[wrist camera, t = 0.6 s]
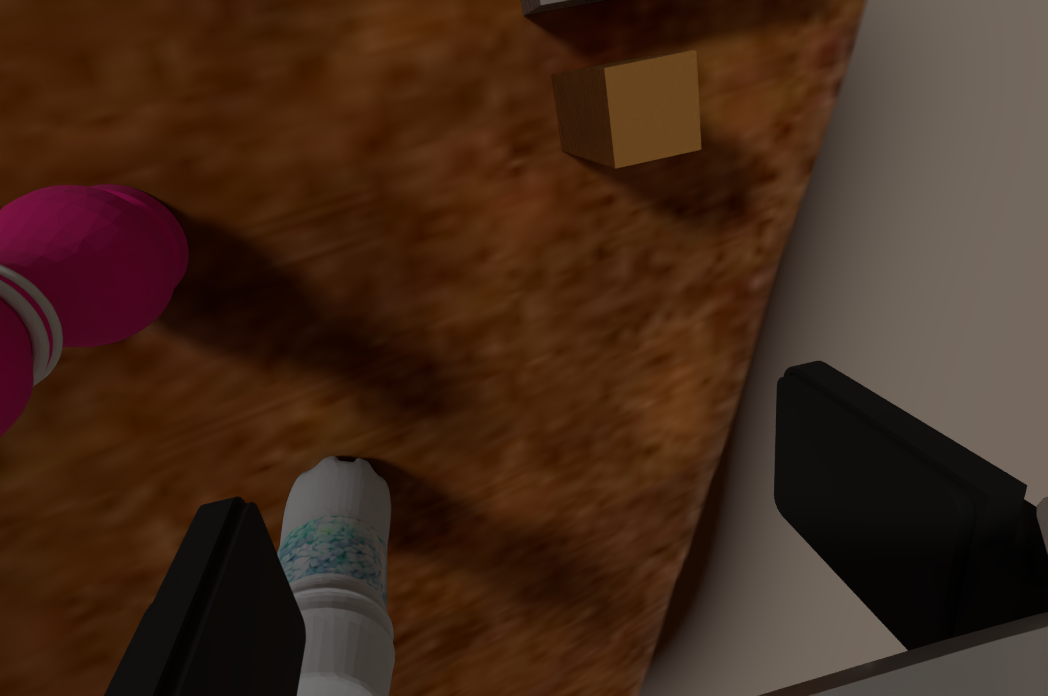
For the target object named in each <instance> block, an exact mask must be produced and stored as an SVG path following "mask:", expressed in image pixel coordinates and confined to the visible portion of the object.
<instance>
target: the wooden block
mask: <svg viewBox="0 0 1048 696" xmlns="http://www.w3.org/2000/svg"><path fill="white" fill-rule="evenodd" d="M551 78H552V85H553V92H554V99H555V106H556V112H557V119H558V126H559V133H560V140H561V147H562V151H564V152H567V153H570V154H573V155H576V156H579V157H582V158H585V159H588V160H591V161H594V162H597V163H600V164H603V165H606V166H609V167H612V168H615V169H616V168H620V167H625V166H629V165H634V164H638V163H643V162H647V161H652V160H656V159H661V158H666V157H670V156H675V155H679V154H684V153H688V152H693V151H697V150H701V132H700V112H699V93H698V73H697V53H696V50H691V51H684V52H677V53H670V54H663V55H656V56H650V57H643V58H636V59H629V60H622V61H617V62H612V63H607V64H602V65H597V66H592V67H587V68H582V69H577V70H572V71H567V72H562V73H557V74H552V75H551Z"/></svg>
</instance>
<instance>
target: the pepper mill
mask: <svg viewBox="0 0 1048 696" xmlns="http://www.w3.org/2000/svg"><path fill="white" fill-rule="evenodd" d="M188 260H189V248H188V243H187V239H186V236H185V234H184V232H183V229H182V227H181V226H180V224H179V222H178V221H177V219H176V218H175V217H174V215H173V214H172V213H171V212H170V211H169V210H168V209H167V208H166V207H165V206H164V205H163V204H161V203H160V202H159V201H157V200H156V199H155V198H153V197H151V196H149V195H148V194H146V193H144V192H141V191H139V190H137V189H133V188H130V187H126V186H121V185H112V184H104V185H96V186H91V187H87V186H76V185H57V186H52V187H46V188H42V189H39V190H36V191H33V192H30V193H28V194H26V195H24V196H22V197H20V198H18V199H16V200H14V201H12V202H11V203H9V204H7V205H5V206H4V207H3V208H2V209H1V210H0V437H1V436H2V435H3V434H4V433H5V432H6V431H7V430H8V429H9V428H10V427H11V426H12V424H13V423H14V422H15V421H16V420H17V419H18V418H19V416H20V415H21V414H22V413H23V411H24V408H25V406H26V404H27V402H28V400H29V398H30V396H31V392H32V389H33V387H34V386H35V385H36V384H37V383H39V382H40V381H41V380H43V379H44V378H45V377H46V376H47V375H49V374H50V372H51V371H52V370H53V368H54V367H55V366H56V364H57V362H58V360H59V358H60V355H61V351H62V348H63V347H93V346H99V345H105V344H109V343H114V342H117V341H120V340H123V339H126V338H129V337H130V336H132V335H134V334H136V333H138V332H139V331H141V330H142V329H144V328H145V327H147V326H148V325H150V324H151V323H152V322H153V321H155V320H156V319H157V318H158V317H159V316H160V315H161V313H162V312H163V311H164V310H165V308H166V306H167V305H168V303H169V301H170V299H171V297H172V294H173V291H174V288H175V287H176V286H177V285H178V284H179V282H180V281H181V280H182V278H183V276H184V274H185V272H186V270H187V265H188Z"/></svg>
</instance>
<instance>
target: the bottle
mask: <svg viewBox="0 0 1048 696" xmlns="http://www.w3.org/2000/svg"><path fill="white" fill-rule="evenodd" d="M390 519H391V501H390V492H389V488H388V485H387V483H386V481H385V480H384V479H383V478H382V477H380V476H378V475H377V474H376V473H375V471H374V470H373V469H372V467H371V465H370V464H369V463H368V462H367V461H366V460H363V459H361V458H358V459H356V460H355V462H346V461H340V460H338V458H337V457H335V456H330V457H327V458H325V459H323V460H322V461H321V462H320V463H319V464H318V465H316V466H315V467H314V468H313V469H311V470H310V471H305V472H303V473H302V474H301V475H300V476H299V477H298V478H297V480H296V481H295V483H294V485H293V487H292V489H291V492H290V495H289V498H288V500H287V504H286V508H285V513H284V518H283V526H282V534H281V541H280V547H279V550H278V554H277V555H278V558H279V560H280V562H281V565H282V567H283V570H284V572H285V575H286V577H287V580H288V582H289V585H290V587H291V589H292V592H293V594H294V597H295V599H296V602H297V604H298V607H299V609H300V611H301V614H302V616H303V619H304V623H305V628H306V644H305V650H304V656H303V662H302V668H301V674H300V680H299V686H298V692H297V696H389V689H390V683H391V677H392V671H393V667H394V662H395V651H394V646H393V626H392V623H391V620H390V618H389V616H388V614H387V613H386V608H387V545H388V537H389V529H390Z"/></svg>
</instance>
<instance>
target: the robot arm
mask: <svg viewBox="0 0 1048 696" xmlns="http://www.w3.org/2000/svg"><path fill="white" fill-rule="evenodd" d="M1026 489H1027V485H1026V484H1024V483H1022V482H1021V481H1019V480H1018V479H1016V478H1014V477H1012V476H1011V475H1009V474H1008V473H1006V472H1004V471H1003V470H1001V469H999V468H998V467H996V466H994V465H993V464H991V463H990V462H988V461H986V460H985V459H983V458H981V457H980V456H978V455H976V454H975V453H973V452H971V451H970V450H968V449H967V448H965V447H963V446H961V445H960V444H958V443H956V442H955V441H953V440H952V439H950V438H948V437H947V436H945V435H943V434H942V433H940V432H938V431H937V430H935V429H934V428H932V427H930V426H928V425H927V424H925V423H924V422H922V421H920V420H919V419H917V418H915V417H914V416H912V415H910V414H909V413H907V412H905V411H904V410H902V409H901V408H899V407H897V406H896V405H894V404H892V403H890V402H889V401H887V400H886V399H884V398H882V397H880V396H879V395H877V394H876V393H874V392H872V391H871V390H869V389H868V388H866V387H864V386H863V385H861V384H859V383H858V382H856V381H854V380H853V379H851V378H849V377H848V376H846V375H844V374H843V373H841V372H839V371H837V370H836V369H834V368H833V367H831V366H829V365H828V364H826V363H824V362H822V361H814V362H810V363H806V364H801V365H797V366H793V367H789V368H788V369H787V370H786V371H785V373H784V377H781V378H780V379H779V380H778V382H777V402H776V439H775V477H774V499H775V503H776V506H777V508H778V510H779V512H780V513H781V514H782V516H783V517H784V518H785V519H786V520H787V521H788V523H789V524H790V525H791V526H792V527H793V528H794V529H795V530H796V531H797V532H798V533H799V534H800V535H801V536H802V537H803V538H804V540H805V541H806V542H807V543H808V544H809V545H810V546H811V547H812V548H813V549H814V550H815V551H816V552H817V554H818V555H819V556H820V557H821V558H822V559H823V560H824V561H825V562H826V563H827V564H828V565H829V566H830V568H831V569H832V570H833V571H834V572H835V573H836V574H837V575H838V576H839V577H840V578H841V579H842V580H843V581H844V582H845V583H846V584H847V586H848V587H849V588H850V589H851V590H852V591H853V592H854V593H855V594H856V595H857V596H858V597H859V598H860V599H861V601H862V602H863V603H864V604H865V605H866V606H867V607H868V608H869V609H870V610H871V611H872V612H873V613H874V615H875V616H876V617H877V618H878V619H879V620H880V621H881V622H882V623H883V624H884V625H885V626H886V627H887V628H888V630H889V631H890V632H891V633H892V634H893V635H894V636H895V637H896V638H897V639H898V640H899V641H900V642H901V643H902V645H903V646H904V647H905V648H906V649H907V650H908V651H906V652H903V653H899V654H896V655H893V656H889V657H886V658H883V659H879V660H876V661H873V662H869V663H866V664H863V665H859V666H856V667H852V668H849V669H846V670H842V671H839V672H836V673H832V674H829V675H825V676H822V677H819V678H816V679H812V680H809V681H805V682H802V683H799V684H795V685H792V686H789V687H785V688H782V689H778V690H775V691H772V692H769V693H765V694H762V695H759V696H1048V497H1046V498H1044V499H1043V500H1042V501H1041V502H1040V503H1039V504H1038V505H1037V507H1036V506H1034V505H1032V504H1031V503H1029V502H1028V501H1026V500H1024V497H1025V493H1026ZM305 644H306V628H305V623H304V619H303V616H302V614H301V611H300V609H299V607H298V604H297V602H296V599H295V597H294V594H293V592H292V589H291V587H290V585H289V582H288V580H287V577H286V575H285V572H284V570H283V567H282V565H281V562H280V560H279V558H278V555H277V553H276V550H275V548H274V545H273V543H272V540H271V538H270V535H269V533H268V531H267V528H266V526H265V523H264V521H263V518H262V516H261V513H260V511H259V509H258V507H257V505H256V504H255V503H253V502H251V503H245V501H244V500H243V499H242V498H241V497H234V498H229V499H225V500H221V501H217V502H212V503H208V504H204V505H202V506H200V508H199V509H198V511H197V513H196V515H195V517H194V519H193V521H192V523H191V525H190V527H189V529H188V531H187V533H186V535H185V537H184V539H183V541H182V544H181V546H180V548H179V550H178V552H177V554H176V556H175V558H174V560H173V562H172V564H171V566H170V568H169V570H168V572H167V574H166V576H165V578H164V580H163V583H162V585H161V587H160V589H159V591H158V593H157V595H156V597H155V599H154V601H153V603H152V604H151V605H150V606H149V608H148V609H147V610H146V612H145V614H144V616H143V618H142V620H141V622H140V624H139V626H138V628H137V630H136V632H135V634H134V636H133V638H132V640H131V642H130V644H129V646H128V648H127V650H126V652H125V654H124V656H123V658H122V660H121V662H120V664H119V666H118V668H117V670H116V672H115V674H114V676H113V678H112V681H111V683H110V685H109V687H108V689H107V691H106V693H105V695H104V696H297V692H298V686H299V680H300V674H301V668H302V662H303V656H304V650H305Z"/></svg>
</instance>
